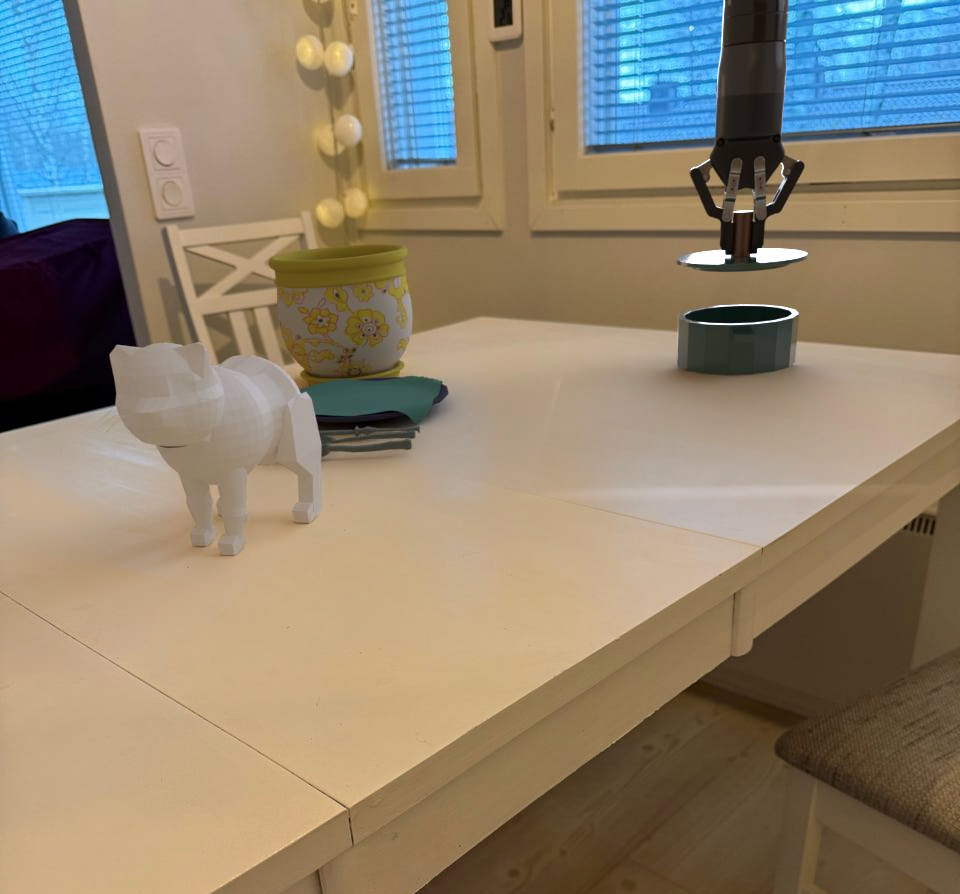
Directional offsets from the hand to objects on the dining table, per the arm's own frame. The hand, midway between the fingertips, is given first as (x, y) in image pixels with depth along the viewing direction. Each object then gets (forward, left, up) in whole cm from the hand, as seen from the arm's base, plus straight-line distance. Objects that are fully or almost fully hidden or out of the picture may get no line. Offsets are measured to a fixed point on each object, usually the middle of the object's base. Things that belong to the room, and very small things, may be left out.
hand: (741, 253), depth 116 cm
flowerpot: (+51, 0, -14) cm, 53 cm away
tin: (0, 0, -14) cm, 14 cm away
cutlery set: (+44, +23, -14) cm, 52 cm away
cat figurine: (+45, +56, -14) cm, 73 cm away
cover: (0, 0, -1) cm, 1 cm away
